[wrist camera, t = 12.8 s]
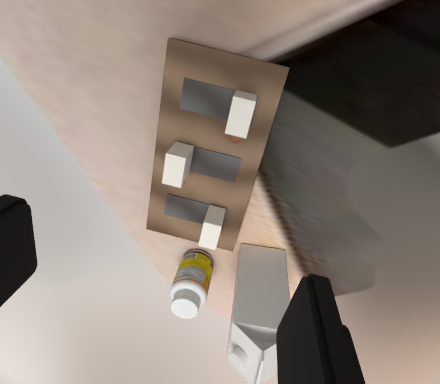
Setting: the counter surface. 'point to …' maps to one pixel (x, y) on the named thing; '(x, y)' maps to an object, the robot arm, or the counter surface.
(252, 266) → the milk carton
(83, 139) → the counter surface
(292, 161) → the counter surface
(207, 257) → the supplement bottle
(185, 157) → the knob middle
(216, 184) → the switch board
